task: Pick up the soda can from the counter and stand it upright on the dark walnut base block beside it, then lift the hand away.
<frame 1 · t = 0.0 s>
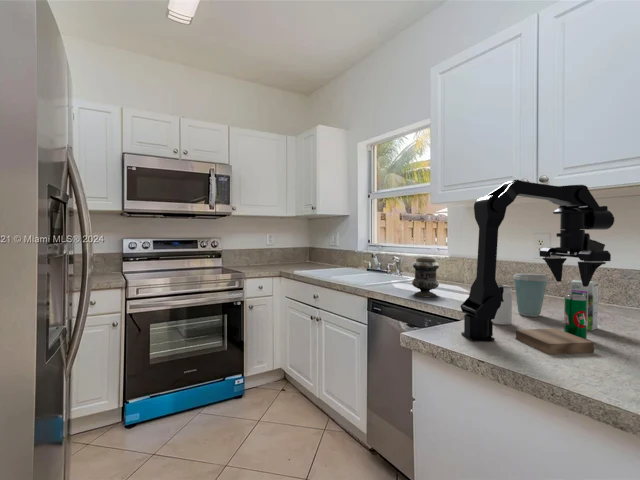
hand: (571, 283, 98), 15 cm above the counter, fingers open, 9 cm apart
apothecary jar: (425, 295, 160), on the counter
can: (500, 323, 111), on the counter
syrup box: (583, 328, 105), on the counter
disposable coffee cup: (529, 315, 122), on the counter
soda can: (575, 338, 95), on the counter
walnut base: (552, 345, 89), on the counter
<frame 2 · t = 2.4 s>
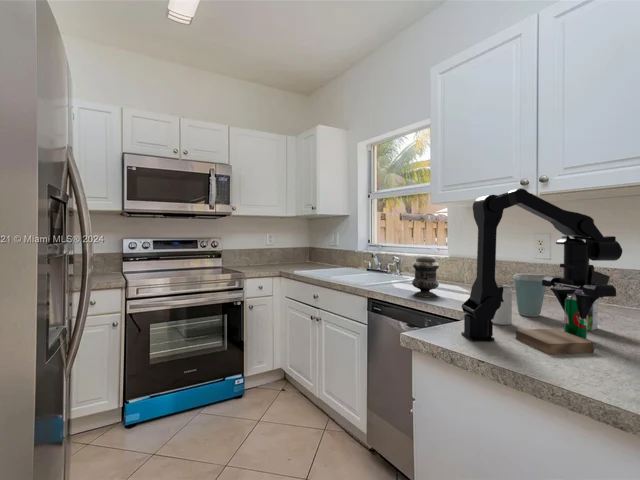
hand: (575, 316, 95), 6 cm above the counter, fingers closed on soda can, 5 cm apart
soda can: (575, 338, 95), on the counter, touching gripper
everything else where it was.
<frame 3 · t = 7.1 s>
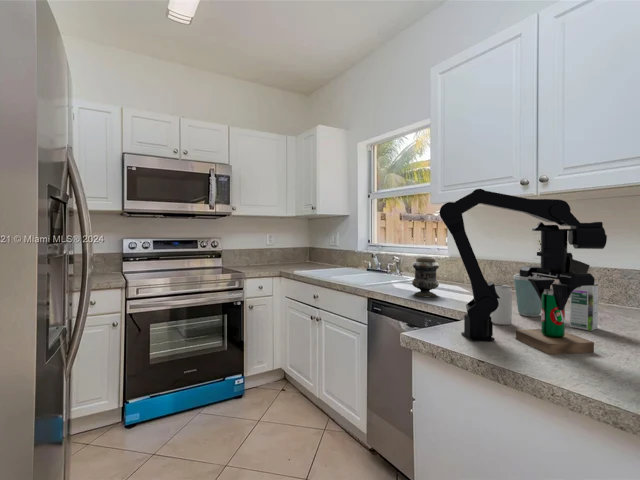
hand: (553, 308, 89), 10 cm above the counter, fingers closed on soda can, 5 cm apart
soda can: (552, 336, 89), point 2 cm above the counter, touching gripper, walnut base
everything else where it was.
when the fingers open (10 cm above the counter, at t = 8.0 s): soda can stays where it is, resting on walnut base.
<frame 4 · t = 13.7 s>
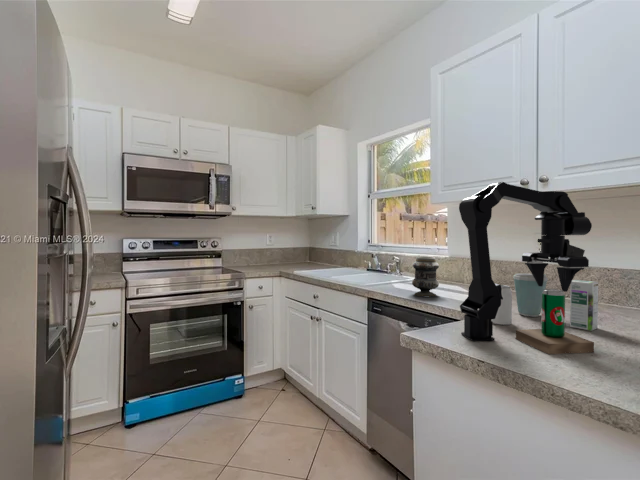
hand: (552, 288, 100), 13 cm above the counter, fingers open, 9 cm apart
soda can: (552, 336, 89), point 2 cm above the counter, touching walnut base
everything else where it was.
at the end: soda can 0.1 cm off-centre on the walnut base, point 2.3 cm above the walnut base's base; soda can touching walnut base; soda can tilted 0° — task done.
